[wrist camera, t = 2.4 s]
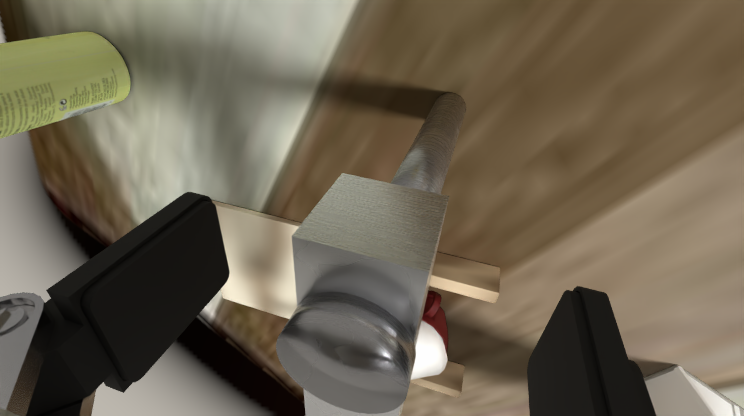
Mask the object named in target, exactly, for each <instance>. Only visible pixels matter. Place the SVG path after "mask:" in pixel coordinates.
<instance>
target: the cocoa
mask: <svg viewBox="0 0 744 416" xmlns="http://www.w3.org/2000/svg"><path fill="white" fill-rule="evenodd" d="M440 302H441V295H440V294H438V293H437V292H435V291H428V294H427V298H426V303H425V307H424V312H423V317H422V321H421V326H420V330H419V335H418V339H417V344H416V348H415V349H416V358H415V363H414V367H413V371H412V375H411V380H414V379H418V378H422V377H427V376H433V375H439V374H440V373H441V372H442V371H443V370H444V369H445V367H446V364H447V361H448V359H447V354H446V353H447V349H448V330H447V324H446V319H445V313H444V311H443V310H442V308H441V307H440Z"/></svg>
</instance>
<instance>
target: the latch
mask: <svg viewBox="0 0 744 416" xmlns="http://www.w3.org/2000/svg"><path fill="white" fill-rule="evenodd" d="M465 111H466V105H465V102H464V100H463V99H462V97H460V96H459V95H457V94H455V93H445V94H443V95H441V96H440V97H438V99H437V100H436V102H435V103H434V105H433V107H432V109H431V111H430V112H429V114H428V116H427V118H426V120H425V122H424V123H423V125H422V127H421V129H420V131H419V133H418V134H417V136H416V138H415V140H414V142H413V144H412V145H411V147H410V149H409V151H408V153H407V155H406V156H405V158H404V160H403V162H402V164H401V166H400V167H399V169H398V171H397V173H396V175H395V177H394V178H393V180H392V182H391V183H386V182H382V181H377V180H372V179H368V178H363V177H358V176H354V175H349V174H344V173H342V174H341V175H340V177H339V178H338V179H337V180H336V182H335V183H334V184H333V185H332V187H331V188H330V189H329V190H328V192H327V193H326V194H325V195H324V197H323V198H322V199H321V200H320V202H319V203H318V204H317V205H316V207H315V208H314V209H313V210H312V211H311V213H310V214H309V215H308V216H307V218H306V219H305V220H304V221H303V223H302V224H301V225H300V226H299V228H298V229H297V230H296V231H295V233H294V234H293V235H292V247H293V260H294V272H295V285H296V298H297V308H296V309H295V311H294V313H293V314H292V316H291V318H290V319H289V321H288V322H287V324H286V326H285V327H284V329H283V330H282V332H281V334H280V335H279V337H278V339H277V344H276V351H277V355H278V358H279V360H280V362H281V364H282V366H283V368H284V369H285V370H286V372H287V373H288V374H289V375H290V376H291V378H292V379H293V380H294V381H296V382H297V383H298V384H299V385H300V386H301V387H302V388H304V399H305V410H306V411H305V412H306V416H401V412H402V407H403V403H404V400H405V399H406V396H407V392H408V388H409V384H410V380H411V375H412V371H413V367H414V363H415V358H416V349H415V348H416V344H417V339H418V335H419V330H420V326H421V321H422V317H423V312H424V307H425V303H426V298H427V294H428V289H429V285H430V280H431V276H432V271H433V267H434V262H435V258H436V253H437V248H438V244H439V239H440V235H441V230H442V226H443V221H444V217H445V212H446V208H447V203H448V198H449V196H446V195H442V194H441V191H442V187H443V184H444V181H445V177H446V174H447V171H448V167H449V164H450V161H451V158H452V154H453V151H454V148H455V144H456V141H457V138H458V135H459V131H460V128H461V125H462V121H463V118H464V115H465Z"/></svg>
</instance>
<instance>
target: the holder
mask: <svg viewBox="0 0 744 416" xmlns="http://www.w3.org/2000/svg"><path fill="white" fill-rule="evenodd" d="M499 285H500V268H499V267H495V266H491V265H487V264H483V263H479V262H475V261H471V260H467V259H463V258H459V257H455V256H451V255H447V254H443V253H439V252H437V253H436V258H435V262H434V267H433V271H432V276H431V280H430V285H429V286H433V287H436V288H440V289H444V290H447V291H451V292H455V293H458V294H462V295H466V296H469V297H473V298H477V299H480V300H484V301H488V302H492V303H496V300H497V298H498V295H499ZM463 373H464V366H463V365H460V364H457V363H454V362H450V361H447V364H446V367H445V369H444V370H443V371H442V372H441V373H440V374H439V375H433V376H427V377H422V378H418V379H414V380H410V382H411V383H415V384H418V385H421V386H424V387H427V388H430V389H433V390H436V391H439V392H442V393H445V394H448V395H451V396H454V397H457V398H459V397H460V394H461V391H462V382H463Z"/></svg>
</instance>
